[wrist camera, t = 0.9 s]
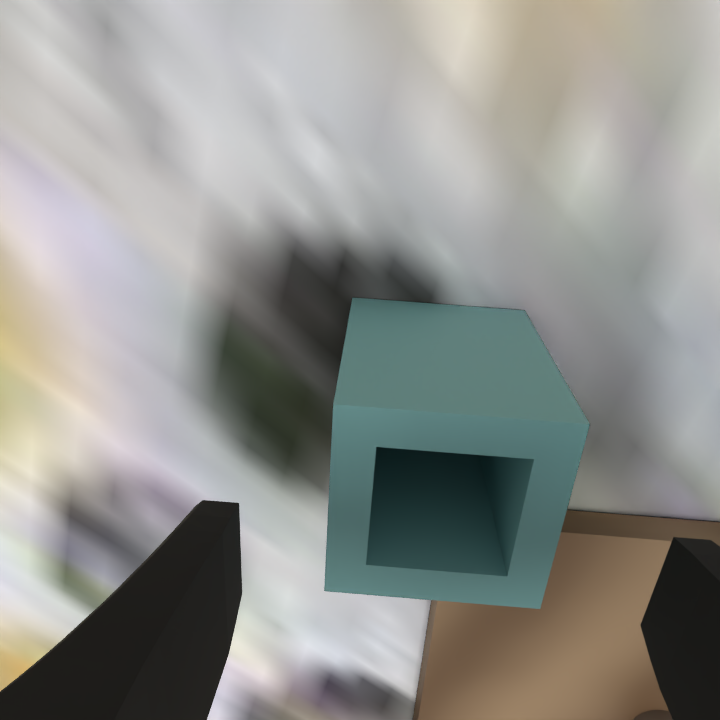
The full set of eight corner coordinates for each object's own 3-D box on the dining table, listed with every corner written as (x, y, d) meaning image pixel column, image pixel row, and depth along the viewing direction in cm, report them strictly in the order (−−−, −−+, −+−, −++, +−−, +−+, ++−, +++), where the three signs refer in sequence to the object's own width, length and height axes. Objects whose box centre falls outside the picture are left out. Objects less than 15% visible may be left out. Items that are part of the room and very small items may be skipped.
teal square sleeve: (524, 310, 15) (589, 423, 10) (496, 454, 17) (539, 609, 12) (352, 297, 15) (333, 404, 10) (344, 441, 17) (324, 591, 12)
